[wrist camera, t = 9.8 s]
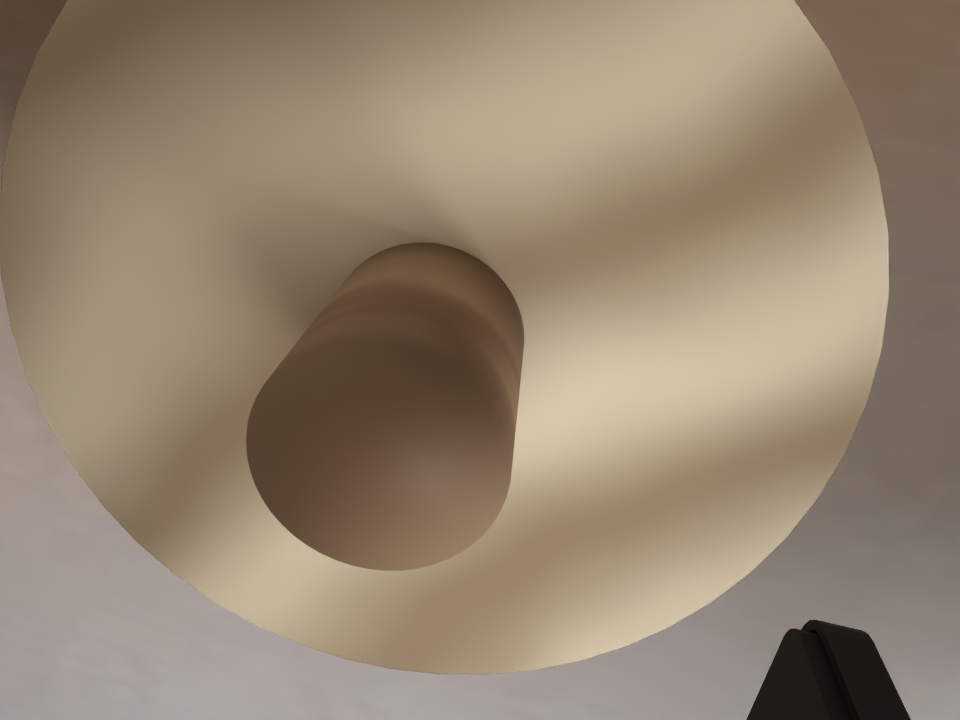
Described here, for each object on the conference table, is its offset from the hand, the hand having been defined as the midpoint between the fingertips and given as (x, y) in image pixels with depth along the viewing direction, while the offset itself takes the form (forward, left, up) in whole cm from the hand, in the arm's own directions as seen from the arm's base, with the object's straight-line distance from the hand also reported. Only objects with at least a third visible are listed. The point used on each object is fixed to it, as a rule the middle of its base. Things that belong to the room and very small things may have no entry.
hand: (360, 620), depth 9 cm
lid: (0, 0, -9) cm, 9 cm away
